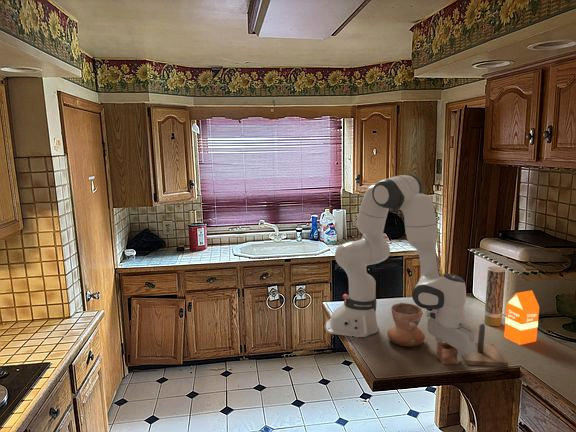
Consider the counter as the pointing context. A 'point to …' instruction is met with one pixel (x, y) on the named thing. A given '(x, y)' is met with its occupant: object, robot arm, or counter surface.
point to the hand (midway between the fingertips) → (449, 354)
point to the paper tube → (494, 296)
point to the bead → (446, 353)
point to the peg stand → (484, 353)
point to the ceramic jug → (406, 325)
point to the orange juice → (522, 318)
